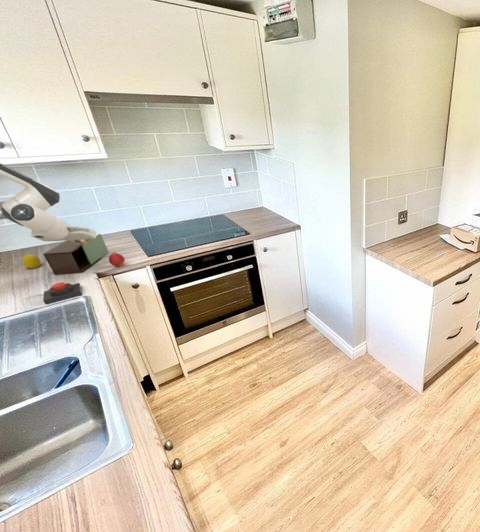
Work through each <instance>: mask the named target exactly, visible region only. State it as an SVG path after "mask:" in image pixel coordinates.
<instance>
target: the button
mask: <svg viewBox="0 0 480 532" xmlns="http://www.w3.org/2000/svg"><path fill="white" fill-rule="evenodd" d="M65 283H66V282H63V281H61V282H57V283H54V284H52V285H51V287H52V288H53V290H54V291H55V290H61V289H64V288H66V287H67V286H66V284H65Z"/></svg>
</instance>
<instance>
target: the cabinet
mask: <svg viewBox="0 0 480 532" xmlns="http://www.w3.org/2000/svg"><path fill="white" fill-rule="evenodd" d="M85 240H86V242H87V241H89V240H90V239H85ZM43 257H44V258H45V260H46V262H47V264H48V266H49V267H50V269H51V271H52V273H53V274H54V276H57V275H58V276H59V275H71V274H83V273H84V272H86V271H87V270H89V269H90V268H91V267H93V266H95V265H96V264H97V263H98V262H99V261H101V260H102V259H103V257H101V258H99V259H98V260H97V261H95V262H94V263H93V264H90V263H89V261H88V259H87V257H86V255H85V253H84V251H83V249H82V247H81V244H80V242H74V241H68V240H65V241H62V242H61V243H59V244H57V245H56V246H54V247H52V248H51V249H49V250H48V251H45V252H44V253H43Z"/></svg>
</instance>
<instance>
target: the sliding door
mask: <svg viewBox="0 0 480 532" xmlns="http://www.w3.org/2000/svg"><path fill="white" fill-rule="evenodd" d="M80 244H81V247H82V249H83V251H84V253H85V255H86V257H87V259H88V261H89V263H90V264H93V263H94V262H95V261H97V260H98V259H99V258H103V257H104V256H105V255H107V254H108V253H109V250H108V247H107V246H106V243H105V241H104V238H103V236H102V234H101V233H99V234H96V238H95V239H90V240H89V241H87V242H86V240H85V239H84V241H83V242H80Z"/></svg>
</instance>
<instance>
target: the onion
mask: <svg viewBox="0 0 480 532" xmlns="http://www.w3.org/2000/svg"><path fill="white" fill-rule="evenodd" d="M125 259H126V258H125V257H124V255H122V254H120V253H117V252H116V251H113V252H112V253H111V254H110V255H109V256H108V262H109V264H110V265H112V266H114V267H122V266H123V264H124V263H125Z"/></svg>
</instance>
